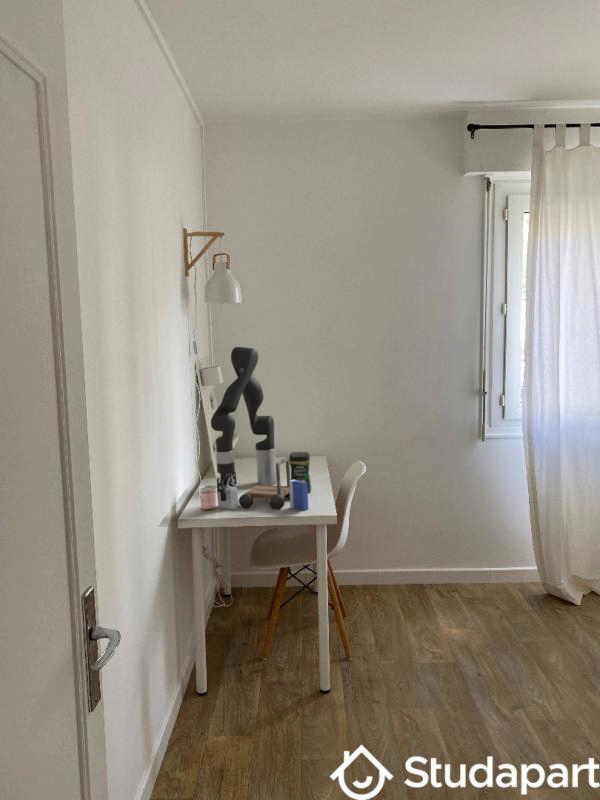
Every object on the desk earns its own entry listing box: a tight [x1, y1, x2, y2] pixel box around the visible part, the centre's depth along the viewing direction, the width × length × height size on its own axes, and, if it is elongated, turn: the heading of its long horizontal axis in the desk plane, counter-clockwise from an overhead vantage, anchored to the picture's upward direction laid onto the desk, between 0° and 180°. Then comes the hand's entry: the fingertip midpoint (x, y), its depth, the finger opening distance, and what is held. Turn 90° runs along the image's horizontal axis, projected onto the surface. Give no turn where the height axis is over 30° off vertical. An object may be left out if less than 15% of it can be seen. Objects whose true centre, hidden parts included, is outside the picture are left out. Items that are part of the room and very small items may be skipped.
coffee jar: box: [289, 451, 312, 494], centre depth 297 cm, size 10×8×19 cm
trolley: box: [238, 456, 291, 511], centre depth 281 cm, size 18×20×19 cm
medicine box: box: [216, 485, 239, 510], centre depth 279 cm, size 8×4×9 cm, turn 54°
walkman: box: [289, 479, 309, 511], centre depth 271 cm, size 8×3×12 cm, turn 47°
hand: (227, 498), depth 279 cm, fingers open, 8 cm apart
